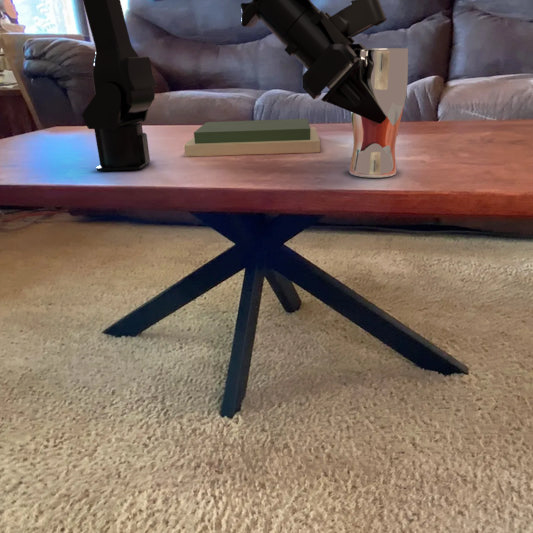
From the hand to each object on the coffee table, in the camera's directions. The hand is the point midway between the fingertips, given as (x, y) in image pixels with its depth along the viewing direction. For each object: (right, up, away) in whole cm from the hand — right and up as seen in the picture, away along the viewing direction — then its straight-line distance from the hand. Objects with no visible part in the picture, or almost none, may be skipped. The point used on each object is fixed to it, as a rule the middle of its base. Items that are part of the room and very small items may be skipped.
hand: (385, 117), depth 64 cm
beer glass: (-1, -7, +3) cm, 7 cm away
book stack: (-17, +3, +26) cm, 31 cm away
